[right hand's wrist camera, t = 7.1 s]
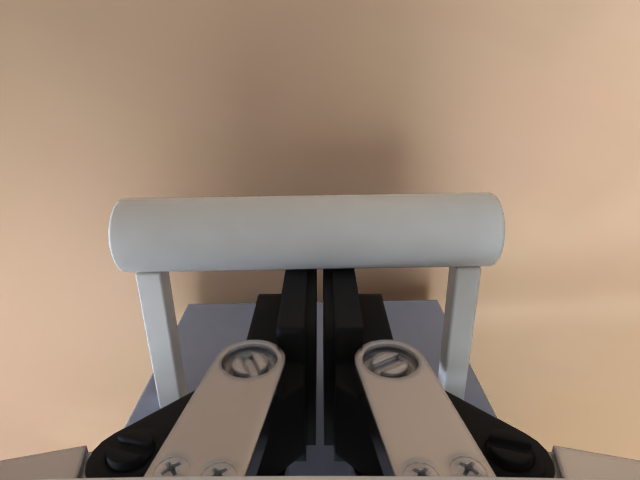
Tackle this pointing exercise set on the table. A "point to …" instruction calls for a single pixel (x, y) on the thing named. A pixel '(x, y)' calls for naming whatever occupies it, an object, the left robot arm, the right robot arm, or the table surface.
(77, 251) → the table surface
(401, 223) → the drawer
